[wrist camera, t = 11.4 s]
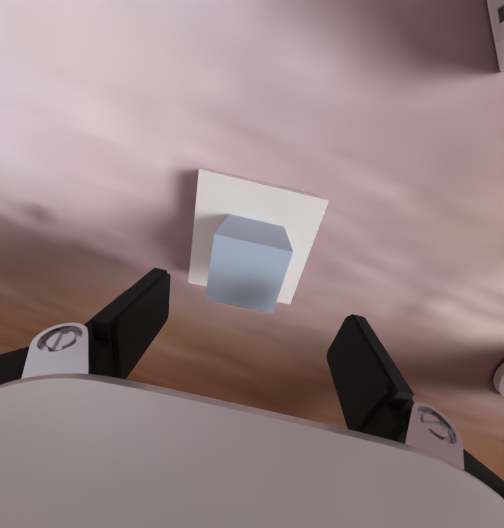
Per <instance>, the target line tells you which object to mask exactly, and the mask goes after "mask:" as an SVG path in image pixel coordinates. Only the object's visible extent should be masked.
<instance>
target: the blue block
mask: <svg viewBox="0 0 504 528" xmlns="http://www.w3.org/2000/svg"><path fill="white" fill-rule="evenodd" d="M292 254H293V250H292V247H291V244H290V241H289V239H288V236H287V233H286V230H285V227H283V226H279V225H275V224H271V223H266V222H262V221H258V220H253V219H249V218H245V217H241V216H236V215H232V214H229V215H228V216H227V218H226V219H225V220H224V222H223V223H222V224H221V226H220V227H219V228H218V230H217V231H216V232H215V234H214V240H213V247H212V253H211V260H210V267H209V274H208V281H207V288H206V295H205V299H206V300H210V301H215V302H220V303H224V304H229V305H234V306H239V307H243V308H248V309H253V310H257V311H262V312H267V313H271V314H272V313H273V310H274V307H275V304H276V301H277V299H278V296H279V293H280V290H281V287H282V284H283V281H284V278H285V275H286V272H287V269H288V266H289V263H290V260H291V257H292Z"/></svg>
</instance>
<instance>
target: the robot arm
mask: <svg viewBox="0 0 504 528" xmlns="http://www.w3.org/2000/svg"><path fill="white" fill-rule="evenodd" d="M169 293H170V274H167V271H166V270H162V269H158V268H154V269H152V270H151V271H150V272H149V273H148V274H146V275H145V276H144V277H143V278H141V279H140V280H139V281H138V282H137V283H135V284H134V285H133V286H132V287H131V288H129V289H128V290H126V291H125V292H124V293H122V294H121V295H120V296H119V297H117V298H116V299H115V300H114V301H113V302H111V303H110V304H109V305H108V306H106V307H105V308H104V309H103V310H101V311H100V312H99V313H98V314H97V315H95V316H94V317H93V318H92V319H90V320H89V321H88V322H87V323H86V324H84V325H82V324H79V323H64V324H59V325H56V326H53V327H51V328H48V329H46V330H44V331H43V332H41V333H40V334H38V335H37V336H36V337H35V338H34V339H33V340H32V342H31V344H30V347H26V348H22V349H19V350H15V351H11V352H8V353H4V354H0V528H504V481H503V480H502V479H500V478H499V477H498V476H497V475H495V474H494V473H493V472H492V471H490V470H489V469H488V468H487V467H486V466H484V465H483V464H482V463H481V462H479V461H478V460H477V459H476V458H474V457H473V456H472V455H471V454H469V453H468V452H467V451H466V450H464V449H463V442H462V439H461V436H460V434H459V432H458V431H457V429H456V428H455V427H454V425H453V424H452V423H451V422H450V421H449V420H448V419H447V418H446V417H445V416H444V415H443V414H442V413H441V412H439V411H438V410H437V409H435V408H434V407H432V406H430V405H428V404H426V403H422V402H416V403H414V402H413V400H412V397H413V396H414V393H413V392H412V390H411V389H410V387H409V386H408V384H407V382H406V381H405V379H404V378H403V376H402V375H401V373H400V372H399V370H398V368H397V367H396V365H395V364H394V362H393V361H392V359H391V358H390V356H389V354H388V353H387V351H386V350H385V348H384V347H383V345H382V344H381V342H380V341H379V339H378V337H377V336H376V334H375V333H374V331H373V330H372V328H371V327H370V325H369V323H368V322H367V320H366V319H365V318H364V317H362V316H358V315H353V314H352V315H350V316H347V317H346V318H345V320H344V322H343V324H342V326H341V328H340V330H339V331H338V333H337V335H336V337H335V339H334V341H333V343H332V344H331V346H330V348H329V350H328V352H327V361H328V364H329V368H330V371H331V374H332V378H333V381H334V384H335V388H336V391H337V394H338V398H339V401H340V404H341V408H342V411H343V414H344V418H345V421H346V424H347V427H348V429H345V428H340V427H336V426H332V425H328V424H323V423H319V422H315V421H310V420H306V419H302V418H298V417H293V416H289V415H284V414H280V413H276V412H271V411H267V410H263V409H258V408H254V407H249V406H245V405H241V404H236V403H232V402H227V401H223V400H218V399H214V398H209V397H205V396H200V395H196V394H191V393H187V392H182V391H178V390H173V389H169V388H164V387H160V386H155V385H150V384H145V383H140V382H135V381H130V380H125V379H126V378H127V377H128V375H129V374H130V372H131V371H132V369H133V368H134V367H135V365H136V364H137V362H138V361H139V359H140V358H141V357H142V355H143V354H144V352H145V351H146V349H147V348H148V347H149V345H150V344H151V342H152V341H153V339H154V338H155V337H156V335H157V334H158V332H159V331H160V329H161V328H162V327H163V325H164V324H165V322H166V321H167V318H168V313H169ZM493 384H494V387H495V389H496V390H497V391H498V392H499V393H500V394H501V395H502V396H503V397H504V362H503V363H502V364H501V365H500V366H499V368H498V369H497V371H496V372H495V375H494V378H493Z"/></svg>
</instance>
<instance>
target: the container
mask: <svg viewBox="0 0 504 528" xmlns="http://www.w3.org/2000/svg"><path fill="white" fill-rule="evenodd" d="M487 5H488V10H489V16H490V21H491V26H492V32H493V37H494V42H495V48H496V53H497V58H498V64H499V69H500V71H501V72H504V0H487Z"/></svg>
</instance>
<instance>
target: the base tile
mask: <svg viewBox="0 0 504 528" xmlns="http://www.w3.org/2000/svg"><path fill="white" fill-rule="evenodd" d="M328 202H329V200H327V199H325V198H323V197H321V196H318V195H314V194H310V193H306V192H301V191H297V190H293V189H289V188H285V187H281V186H277V185H272V184H268V183H264V182H260V181H256V180H252V179H248V178H244V177H239V176H235V175H231V174H227V173H223V172H219V171H215V170H210V169H199V174H198V184H197V195H196V206H195V216H194V227H193V238H192V248H191V259H190V270H189V281H188V283H192V284H197V285H202V286H206V287H207V281H208V274H209V267H210V260H211V253H212V247H213V240H214V234H215V232H216V231H217V230H218V228H219V227H220V226H221V224H222V223H223V222H224V220H225V219H226V218H227V216H228V215H229V214H232V215H236V216H241V217H245V218H249V219H253V220H258V221H262V222H266V223H271V224H275V225H279V226H283V227H285V230H286V233H287V236H288V239H289V241H290V244H291V247H292V250H293V254H292V257H291V260H290V263H289V266H288V269H287V272H286V275H285V278H284V281H283V284H282V287H281V290H280V293H279V296H278V299H277V301H276V302H281V303H286V304H290V303H291V300H292V298H293V295H294V292H295V290H296V287H297V284H298V282H299V279H300V276H301V274H302V271H303V268H304V266H305V263H306V260H307V258H308V255H309V252H310V250H311V247H312V244H313V242H314V239H315V236H316V234H317V231H318V228H319V226H320V223H321V220H322V218H323V215H324V212H325V210H326V207H327V204H328Z"/></svg>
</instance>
